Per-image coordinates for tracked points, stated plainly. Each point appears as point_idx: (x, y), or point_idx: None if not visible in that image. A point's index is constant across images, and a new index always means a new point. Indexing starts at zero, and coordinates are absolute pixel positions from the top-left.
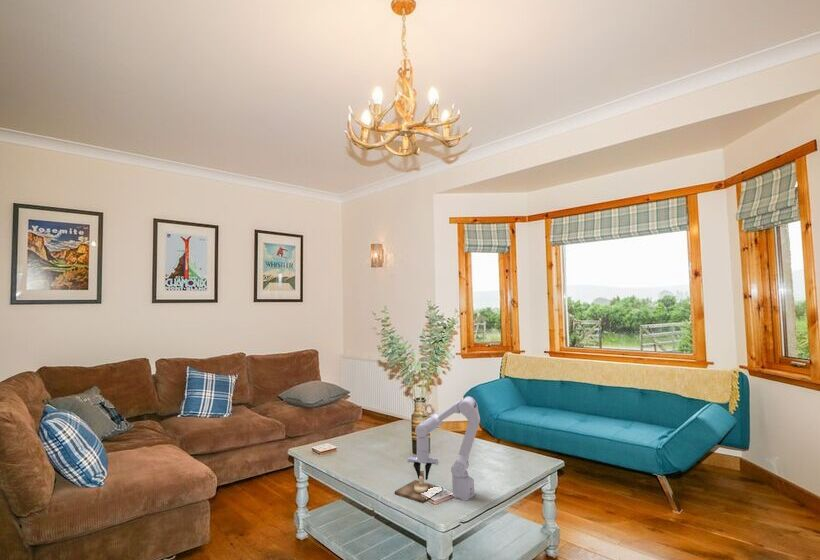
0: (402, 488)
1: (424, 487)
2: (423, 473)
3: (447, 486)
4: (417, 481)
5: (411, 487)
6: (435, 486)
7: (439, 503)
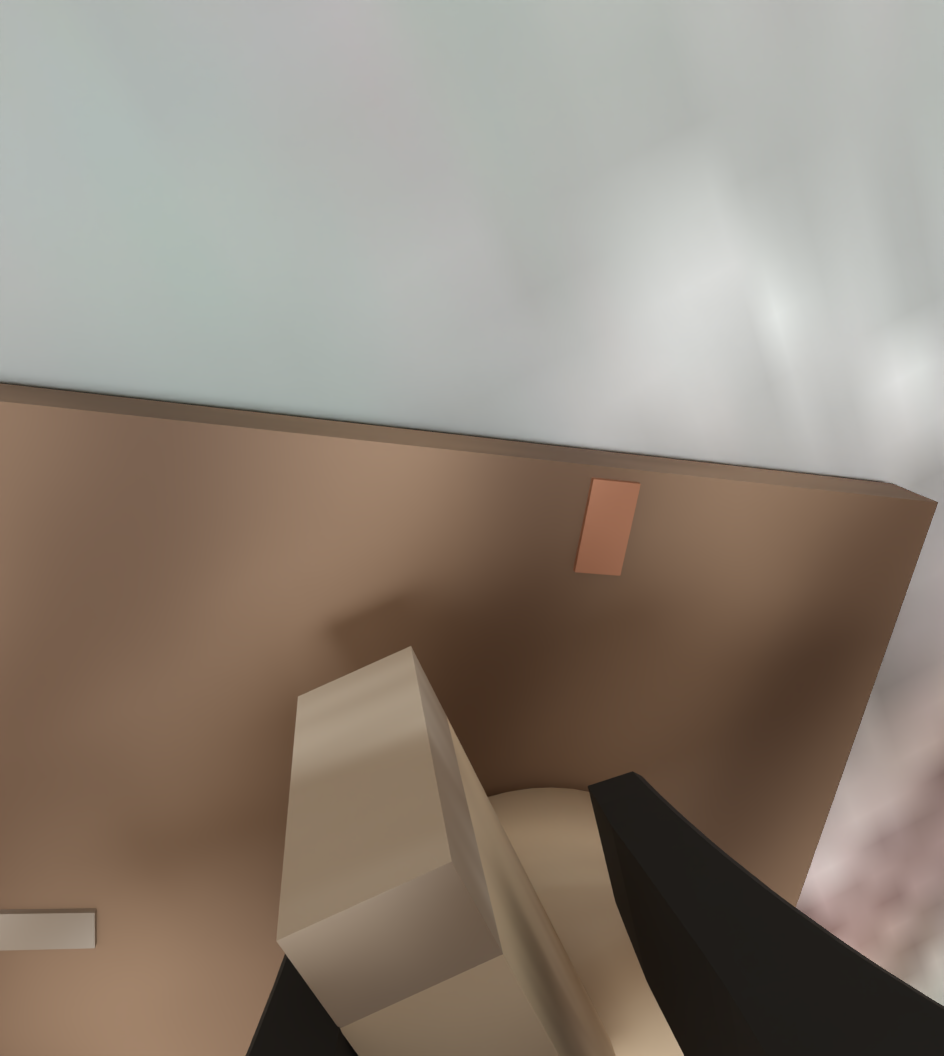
0: (32, 1031)
1: (674, 1050)
2: (546, 1021)
3: (940, 182)
4: (90, 487)
5: (197, 885)
6: (744, 541)
7: (933, 946)
